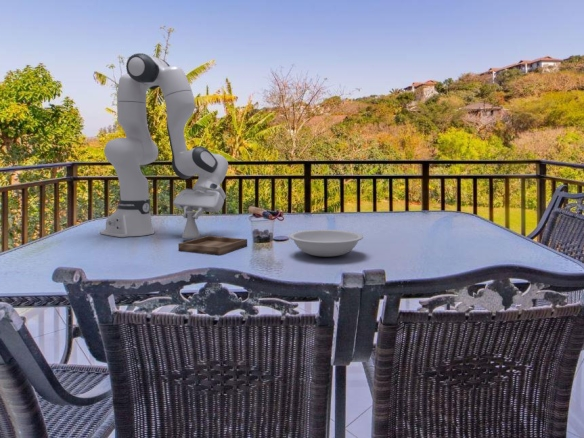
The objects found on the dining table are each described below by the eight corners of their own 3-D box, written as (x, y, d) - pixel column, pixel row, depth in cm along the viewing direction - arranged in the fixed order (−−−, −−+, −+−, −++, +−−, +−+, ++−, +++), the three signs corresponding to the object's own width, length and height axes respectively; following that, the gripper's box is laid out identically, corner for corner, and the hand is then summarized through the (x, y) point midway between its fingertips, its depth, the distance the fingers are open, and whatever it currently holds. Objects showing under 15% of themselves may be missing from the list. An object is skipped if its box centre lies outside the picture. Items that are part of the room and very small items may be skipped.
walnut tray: (178, 250, 165) (178, 243, 165) (208, 242, 180) (207, 235, 180) (220, 255, 158) (220, 247, 158) (247, 246, 173) (247, 239, 173)
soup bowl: (342, 267, 141) (343, 245, 141) (274, 258, 154) (274, 237, 153) (374, 252, 162) (374, 233, 161) (311, 245, 174) (311, 227, 173)
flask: (197, 239, 180) (196, 213, 178) (178, 238, 181) (177, 212, 179) (203, 236, 187) (202, 210, 185) (185, 235, 188) (184, 209, 186)
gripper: (180, 183, 191) (163, 210, 184) (223, 186, 182) (208, 214, 175) (187, 193, 196) (171, 220, 189) (229, 196, 187) (215, 225, 180)
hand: (189, 217), depth 182 cm, fingers closed on flask, 3 cm apart
